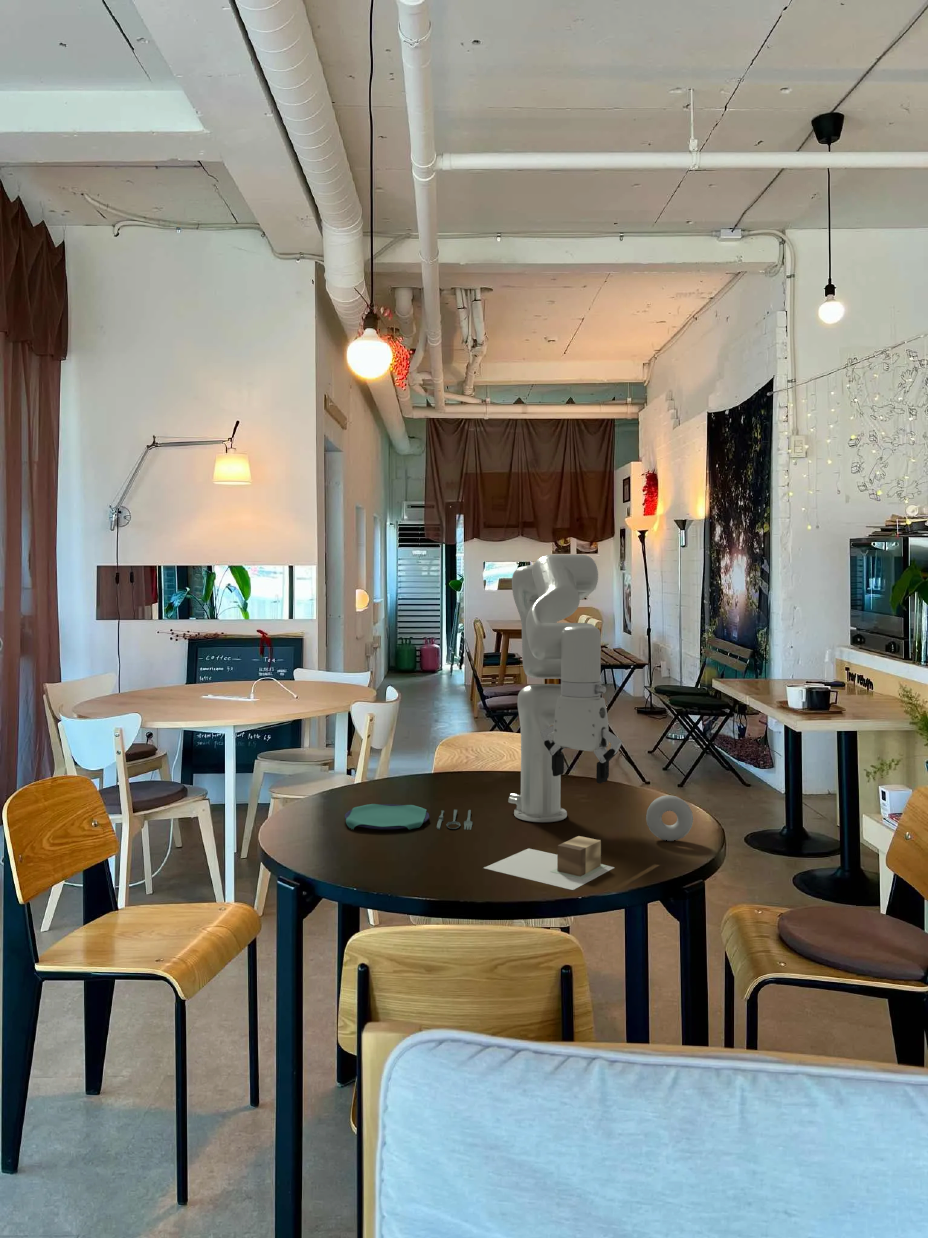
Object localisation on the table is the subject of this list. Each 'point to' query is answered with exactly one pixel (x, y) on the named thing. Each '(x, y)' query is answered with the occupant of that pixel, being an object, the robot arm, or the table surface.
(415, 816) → the cutlery set
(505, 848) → the table surface
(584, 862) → the oak block
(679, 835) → the donut
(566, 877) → the grey mat
